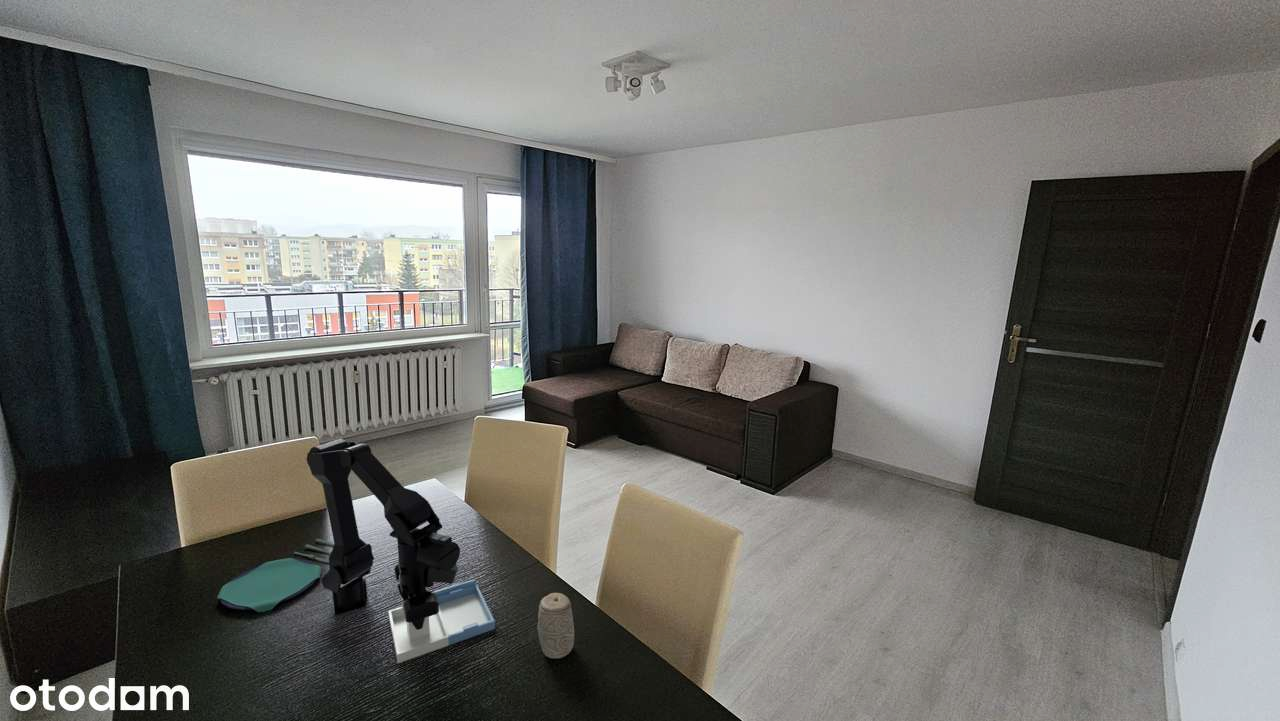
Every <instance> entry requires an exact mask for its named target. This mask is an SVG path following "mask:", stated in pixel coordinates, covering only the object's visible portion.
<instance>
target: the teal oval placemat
mask: <svg viewBox="0 0 1280 721" xmlns="http://www.w3.org/2000/svg"><path fill="white" fill-rule="evenodd" d="M316 542H318V544H320V545H321V544H322V545H324V544H325V546H330V547H332V548H333V547H334V542H330V541H329V542H328V541H326V540H323V539H320V538H316V539H315V543H316ZM303 547H304V549H310V550H314V551H318V552H320V553H325V554H328V556H329V557H330V554H331V552H332V551H331V552H330V551H328V550H325V549H322V548H319V547H316V546H313V545H311V544H307V543H306V544H305V545H304V546H303ZM293 554H295V555H300V556H302V557H306V558H308V559H309V560H306V559H300V558H299V559H297V558H293V557H289V558H282V559H276V560H272V561H267V562H264V563H262V564H261V565H259V566H256V567H254V568H252V569H249V570H247V571H244V572H243V573H241V574H239V575H238V576H236V577H234V578H233V579H232V580H230V581H228V582H227V583H225V584H224V585H223V586H222V587H221V588H220V590H219V592H218V595H217V597H216V600H220V602H221V604H222V605H223V606H225V607H226V608H228V609H234V610H241V611H246V610H254V611H255V612H257V613H260V612H263V611H267V610H270V611H272V610H273V609H274V608H275V607H276V605H278V604H280V603H283V602H286V601H288V600H291V599H292V598H295V597H296V596H299V595H300V594H302V593H304V592H305V591H306V590H308V589H309V588H310V587H312V586H313V585H314V583H315V582H316V581H317V580H319V579H321V574H322V573H321V572H322V566H320V565H318V564H316V563H315V562H312V561H313V560H316V561H318V562H320V563H323V564H328V565H329V559H325V558H321V557H318V556H317V555H316V554H315V555H314V554H306V553H300V552H297V551H294V552H293ZM310 559H311V560H312V561H310Z"/></svg>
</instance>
